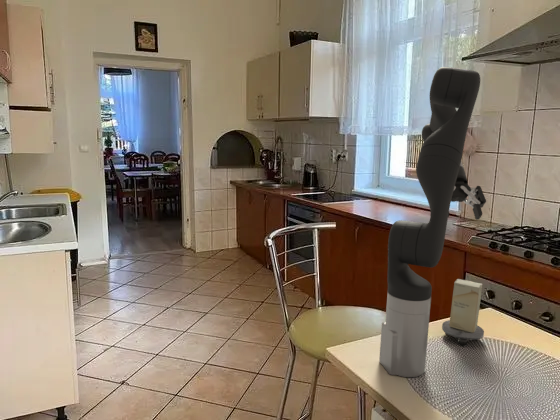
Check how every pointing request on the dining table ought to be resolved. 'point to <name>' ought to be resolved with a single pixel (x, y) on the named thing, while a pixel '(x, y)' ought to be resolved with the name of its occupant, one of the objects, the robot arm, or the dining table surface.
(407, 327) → the robot arm
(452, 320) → the skincare box
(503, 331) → the dining table surface
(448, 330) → the dark gray bowl
